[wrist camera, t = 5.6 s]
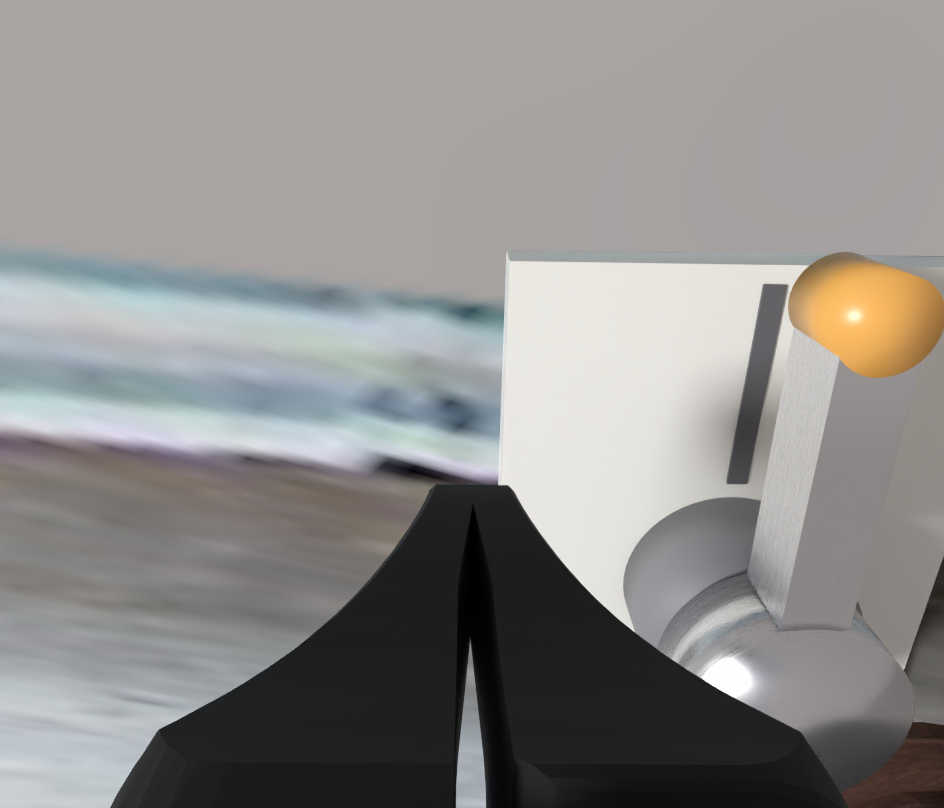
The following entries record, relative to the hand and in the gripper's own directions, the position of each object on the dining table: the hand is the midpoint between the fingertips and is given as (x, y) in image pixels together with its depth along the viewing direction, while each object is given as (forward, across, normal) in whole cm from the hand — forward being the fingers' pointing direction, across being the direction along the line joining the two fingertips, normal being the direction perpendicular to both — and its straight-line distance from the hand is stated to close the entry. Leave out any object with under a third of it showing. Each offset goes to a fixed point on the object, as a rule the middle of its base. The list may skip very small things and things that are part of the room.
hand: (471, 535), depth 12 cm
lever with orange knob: (+5, -8, +3) cm, 10 cm away
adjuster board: (+10, -8, +5) cm, 13 cm away
